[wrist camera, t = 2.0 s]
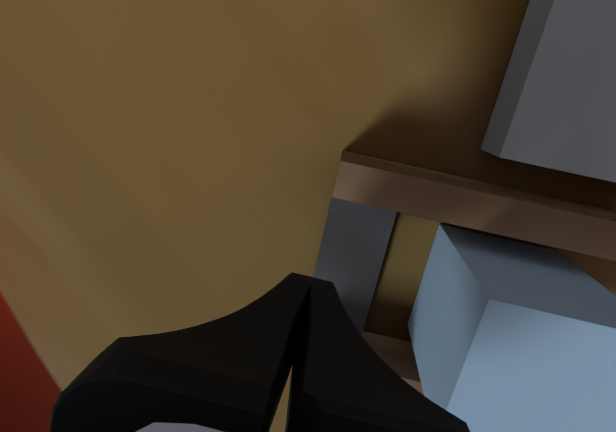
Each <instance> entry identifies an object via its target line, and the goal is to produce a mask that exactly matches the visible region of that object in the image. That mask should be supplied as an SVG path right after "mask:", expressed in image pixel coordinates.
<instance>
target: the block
mask: <svg viewBox="0 0 616 432" xmlns="http://www.w3.org/2000/svg"><path fill="white" fill-rule="evenodd" d="M408 329H409V333H410V337H411V342H412V346H413V350H414V354H415V359H416V363H417V367H418V372H419V376H420V380H421V385H422V389H423V393H424V396H425V397H427V398H428V399H429V400H431V401H432V402H434V403H435V404H437V405H439V406H440V407H442V408H443V409H445V410H447V411H448V412H450V413H451V414H453V415H455V416H456V417H458V418H459V419H461V420H463V421H464V422H466V423H467V425H468V427H469V430H470V432H616V296H615V295H614V294H613V293H612V292H610V291H609V290H608V289H606V288H605V287H604V286H602V285H601V284H600V283H599V282H597V281H596V280H595V279H593V278H592V277H591V276H589V275H588V274H587V273H585V272H584V271H583V270H582V269H580V268H579V267H578V266H576V265H575V264H574V263H572V262H571V261H570V260H569V259H567V258H566V257H565V256H563V255H562V254H561V253H559V252H558V251H556V250H552V249H547V248H543V247H538V246H534V245H529V244H525V243H521V242H516V241H512V240H507V239H503V238H499V237H494V236H490V235H485V234H481V233H477V232H472V231H468V230H463V229H459V228H454V227H450V226H446V225H441V224H439V228H438V231H437V234H436V237H435V240H434V243H433V246H432V249H431V252H430V256H429V259H428V262H427V265H426V268H425V271H424V274H423V277H422V281H421V284H420V287H419V290H418V293H417V296H416V299H415V302H414V305H413V309H412V312H411V315H410V318H409V321H408Z"/></svg>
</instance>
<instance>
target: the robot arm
mask: <svg viewBox="0 0 616 432" xmlns="http://www.w3.org/2000/svg"><path fill="white" fill-rule="evenodd" d="M291 367H292V373H291V382H290V391H289V400H288V409H287V419H286V428H285V432H470V430H469V427H468V425H467V423H466V422H464V421H463V420H461V419H459V418H458V417H456V416H455V415H453V414H451V413H450V412H448V411H447V410H445V409H443V408H442V407H440V406H439V405H437V404H435V403H434V402H432V401H431V400H429V399H428V398H427V397H425V396H424V395H423V394H421V393H420V392H419V391H417V390H416V389H415V388H413V387H412V386H411V385H410V384H408V383H407V382H406V381H405V380H403V379H402V378H401V377H400V376H399V375H398V374H397V373H396V372H394V371H393V370H392V369H391V368H390V367H389V366H388V365H387V364H386V363H385V362H384V361H383V360H382V359H381V358H380V357H379V356H378V355H377V354H376V353H375V351H374V350H373V349H372V348H371V347H370V346H369V344H368V343H367V342H366V341H365V339H364V338H363V337H362V336H361V334H360V333H359V331H358V330H357V328H356V327H355V325H354V324H353V322H352V320H351V318H350V317H349V315H348V313H347V311H346V309H345V308H344V306H343V304H342V301H341V299H340V297H339V295H338V292H337V290H336V287H335V285H334V284H333V282H331V281H327V280H322V279H318V278H314V277H309V276H305V275H301V274H297V273H291V274H289V275H288V276H287V277H286V278H284V279H283V280H282V281H281V282H280V283H279V284H277V285H276V286H275V287H274V288H272V289H271V290H270V291H268V292H267V293H266V294H264V295H263V296H262V297H260V298H259V299H257V300H255V301H254V302H252V303H250V304H249V305H247V306H246V307H244V308H242V309H240V310H238V311H236V312H234V313H232V314H229V315H227V316H225V317H222V318H219V319H216V320H213V321H210V322H207V323H204V324H201V325H198V326H194V327H190V328H186V329H182V330H177V331H172V332H166V333H160V334H152V335H142V336H133V337H120V338H118V339H117V340H115V341H114V342H113V343H112V344H111V345H110V346H108V347H107V348H106V349H105V350H104V351H102V352H101V353H100V354H99V355H98V356H97V357H96V358H95V359H94V360H93V361H92V362H91V363H90V364H89V365H88V366H87V367H86V368H85V369H84V370H83V371H82V372H81V373H80V374H79V375H78V376H77V377H76V378H75V379H74V380H73V381H72V382H71V383H70V385H69V386H68V387H67V388H66V389H65V390H64V391H63V392H62V393H61V394H60V396H59V398H58V400H57V402H56V403H55V405H54V406H53V410H52V416H51V422H50V432H269V430H270V427H271V424H272V421H273V418H274V416H275V413H276V410H277V407H278V404H279V401H280V399H281V396H282V393H283V390H284V387H285V384H286V381H287V379H288V376H289V373H290V370H291Z"/></svg>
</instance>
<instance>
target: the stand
mask: <svg viewBox="0 0 616 432" xmlns="http://www.w3.org/2000/svg"><path fill="white" fill-rule="evenodd" d="M480 149H481V150H483V151H486V152H488V153H490V154H493V155H495V156H497V157H500V158H505V159H509V160H514V161H518V162H523V163H528V164H532V165H537V166H541V167H546V168H551V169H555V170H560V171H565V172H569V173H574V174H578V175H583V176H588V177H592V178H597V179H601V180H606V181H611V182H615V183H616V0H530V1H529V4H528V7H527V10H526V13H525V16H524V19H523V22H522V25H521V28H520V31H519V34H518V37H517V40H516V43H515V46H514V49H513V52H512V55H511V58H510V61H509V64H508V67H507V70H506V73H505V76H504V79H503V82H502V85H501V88H500V91H499V94H498V97H497V100H496V103H495V106H494V109H493V112H492V115H491V118H490V121H489V124H488V127H487V130H486V133H485V136H484V139H483V142H482V145H481V148H480Z"/></svg>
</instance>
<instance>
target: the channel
mask: <svg viewBox="0 0 616 432" xmlns="http://www.w3.org/2000/svg"><path fill="white" fill-rule="evenodd" d="M397 212H400V213H405V214H409V215H414V216H418V217H423V218H427V219H431V220H436V221H440V222H445V223H449V224H453V225H458V226H462V227H467V228H471V229H476V230H480V231H484V232H489V233H493V234H498V235H502V236H507V237H511V238H515V239H520V240H524V241H529V242H533V243H538V244H542V245H546V246H551V247H555V248H560V249H564V250H569V251H573V252H577V253H582V254H586V255H591V256H595V257H600V258H604V259H608V260H613V261H616V211H614V210H610V209H606V208H601V207H597V206H592V205H588V204H583V203H579V202H574V201H570V200H565V199H560V198H556V197H551V196H547V195H542V194H538V193H533V192H529V191H524V190H520V189H515V188H510V187H506V186H501V185H497V184H492V183H488V182H483V181H479V180H474V179H470V178H465V177H461V176H456V175H451V174H447V173H442V172H438V171H433V170H429V169H424V168H420V167H415V166H411V165H406V164H401V163H397V162H392V161H388V160H383V159H379V158H374V157H370V156H365V155H361V154H356V153H352V152H347V151H342V155H341V160H340V164H339V168H338V173H337V177H336V181H335V186H334V190H333V194H332V199H331V203H330V208H329V212H328V216H327V221H326V225H325V229H324V234H323V238H322V242H321V247H320V251H319V256H318V260H317V264H316V269H315V273H314V278H318V279H322V280H327V281H331V282H333V284H334V285H335V287H336V290H337V292H338V295H339V297H340V299H341V301H342V304H343V306H344V308H345V309H346V311H347V313H348V315H349V317H350V318H351V320H352V322H353V324H354V325H355V327H356V328H357V330H358V331H359V333H360V334H361V336H362V337H363V338H364V339H365V341H366V342H367V343H368V344H369V346H370V347H371V348H372V349H373V350H374V351H375V353H376V354H377V355H378V356H379V357H380V358H381V359H382V360H383V361H384V362H385V363H386V364H387V365H388V366H389V367H390V368H391V369H392V370H393V371H394V372H396V373H397V374H398V375H399V376H400V377H401V378H402V379H403V380H405V381H406V382H407V383H408V384H410V385H411V386H412V387H413V388H415V389H416V390H417V391H419V392H420V393H421V394H423V395H424V393H423V389H422V385H421V380H420V376H419V372H418V367H417V363H416V359H415V354H414V350H413V346H412V342H409V341H405V340H400V339H396V338H392V337H388V336H384V335H380V334H376V333H371V332H367V331H363V330H364V326H365V323H366V319H367V316H368V312H369V308H370V305H371V301H372V298H373V294H374V291H375V287H376V284H377V280H378V277H379V273H380V270H381V266H382V263H383V259H384V256H385V252H386V248H387V245H388V241H389V238H390V234H391V231H392V227H393V224H394V220H395V217H396V213H397Z"/></svg>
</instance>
